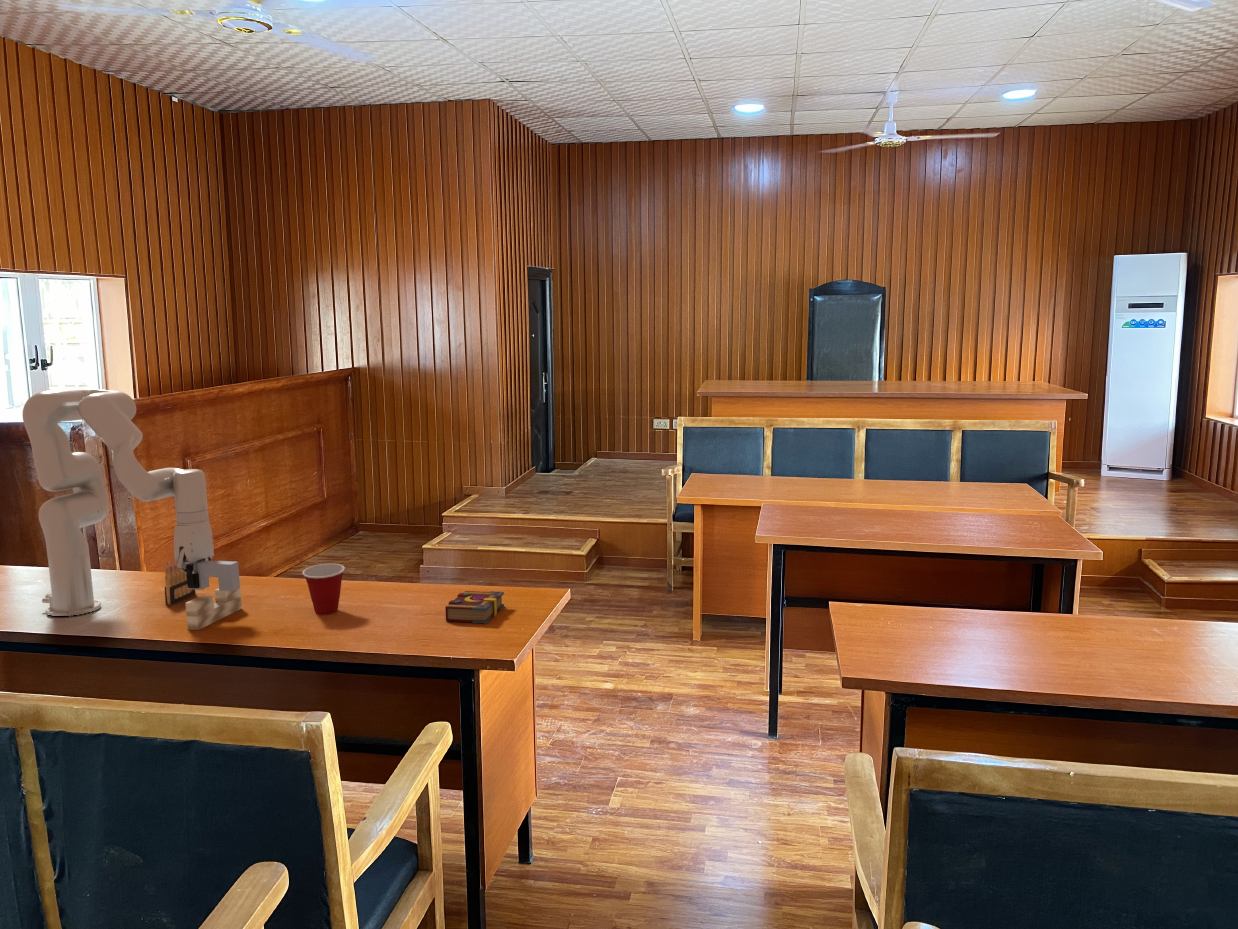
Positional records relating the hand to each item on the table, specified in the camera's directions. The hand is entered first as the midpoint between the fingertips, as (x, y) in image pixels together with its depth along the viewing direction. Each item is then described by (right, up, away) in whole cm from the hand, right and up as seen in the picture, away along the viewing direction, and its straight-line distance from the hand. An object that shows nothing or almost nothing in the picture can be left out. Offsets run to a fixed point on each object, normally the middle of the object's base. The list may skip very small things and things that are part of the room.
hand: (198, 585), depth 228 cm
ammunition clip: (-14, -7, +18) cm, 24 cm away
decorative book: (+72, -8, +3) cm, 73 cm away
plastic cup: (+32, -8, +5) cm, 33 cm away
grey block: (+5, -1, -1) cm, 5 cm away
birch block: (+4, -9, 0) cm, 10 cm away
